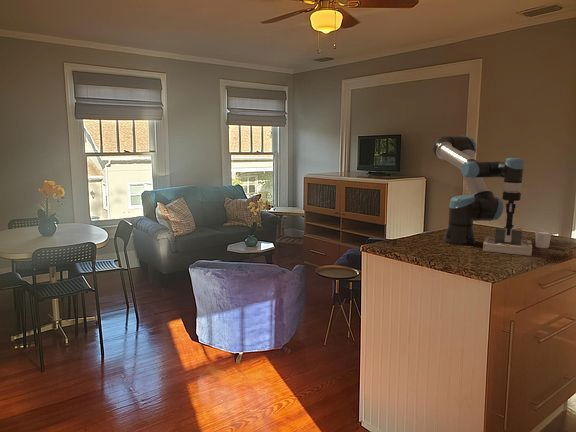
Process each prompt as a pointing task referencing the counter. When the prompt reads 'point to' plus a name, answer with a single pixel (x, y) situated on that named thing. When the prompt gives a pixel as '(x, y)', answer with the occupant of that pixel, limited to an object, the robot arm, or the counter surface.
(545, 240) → the shot glass
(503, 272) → the counter surface
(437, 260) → the counter surface
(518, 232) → the dial
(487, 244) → the housing
